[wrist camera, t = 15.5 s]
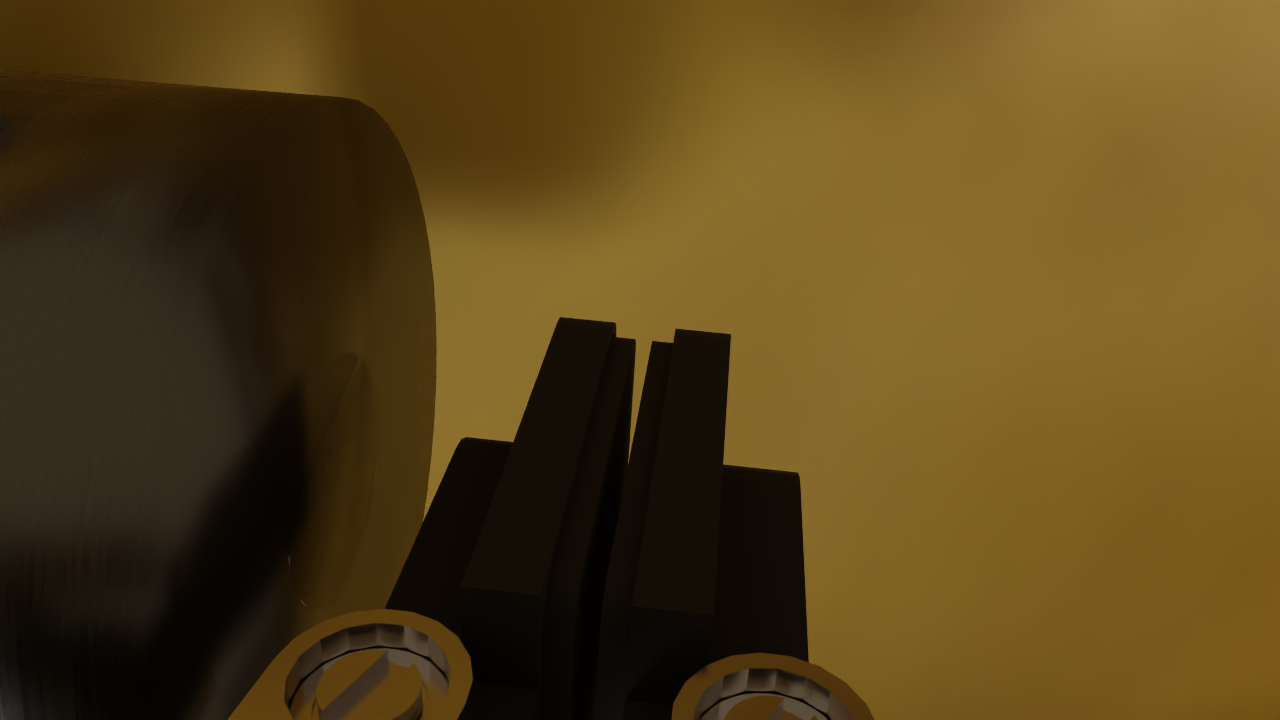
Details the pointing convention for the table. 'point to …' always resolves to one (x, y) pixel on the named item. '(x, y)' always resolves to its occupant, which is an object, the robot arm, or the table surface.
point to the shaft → (200, 386)
